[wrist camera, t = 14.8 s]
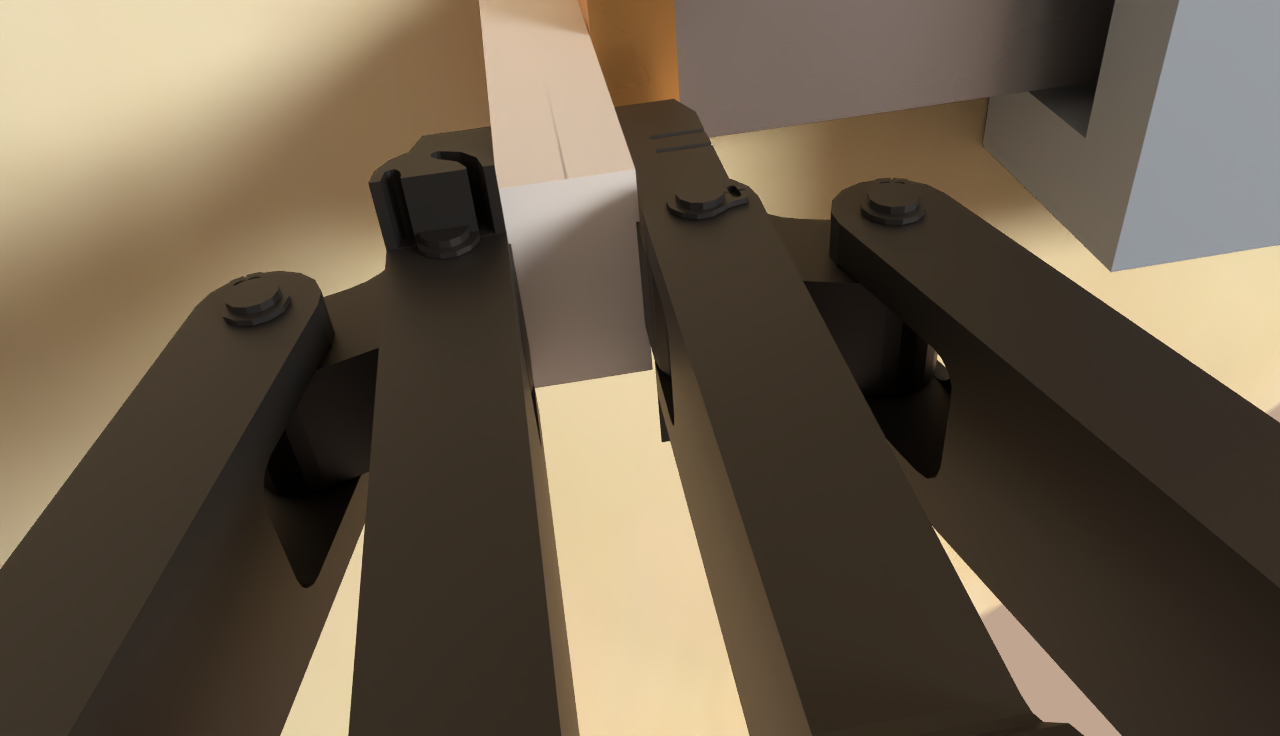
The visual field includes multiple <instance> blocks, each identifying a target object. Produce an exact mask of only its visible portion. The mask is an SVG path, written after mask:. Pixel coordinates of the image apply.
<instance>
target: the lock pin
mask: <svg viewBox="0 0 1280 736" xmlns="http://www.w3.org/2000/svg"><path fill="white" fill-rule="evenodd" d="M577 1H578V3H579V6H580V9H581V12H582V15H583V18H584V21H585V24H586V27H587V30H588V33H589V35H590V38H591V41H592V44H593V47H594V50H595V53H596V56H597V59H598V62H599V65H600V68H601V71H602V73H603V76H604V79H605V82H606V85H607V88H608V91H609V94H610V97H611V100H612V103H613V106H614V107H617V106H624V105H632V104H639V103H646V102H653V101H661V100H668V99H675V100H677V101H678V102H680V103H682V104H684V105H685V106H687V107H689V108H690V109H692V110H694V111H696V113H697V115H698V117H699V119H700V121H701V123H702V125H703V127H704V132H706V133H707V135H708V137H716V136H723V135H730V134H737V133H744V132H751V131H758V130H765V129H772V128H779V127H786V126H792V125H799V124H806V123H813V122H820V121H827V120H834V119H841V118H848V117H855V116H862V115H868V114H875V113H882V112H889V111H896V110H903V109H910V108H917V107H924V106H931V105H938V104H945V103H951V102H958V101H965V100H972V99H979V98H986V97H993V96H1000V95H1007V94H1014V93H1021V92H1027V91H1034V90H1041V89H1048V88H1055V87H1062V86H1069V85H1076V84H1083V83H1090V82H1097V81H1098V78H1099V74H1100V69H1101V64H1102V60H1103V55H1104V50H1105V45H1106V41H1107V36H1108V31H1109V27H1110V22H1111V17H1112V13H1113V8H1114V3H1115V0H577Z"/></svg>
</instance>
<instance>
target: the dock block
mask: <svg viewBox="0 0 1280 736" xmlns="http://www.w3.org/2000/svg"><path fill="white" fill-rule="evenodd" d="M982 146H983V147H984V148H985V149H986V150H987V151H988V152H989V153H990V154H991V155H992V156H993V157H994V158H995V159H996V160H997V161H998V162H999V163H1000V164H1001V165H1002V166H1003V167H1004V168H1005V169H1006V170H1007V171H1008V172H1010V173H1011V174H1012V175H1013V176H1014V177H1015V178H1016V179H1017V180H1018V181H1019V182H1020V183H1021V184H1022V185H1023V186H1024V187H1025V188H1026V189H1027V190H1028V191H1029V192H1030V193H1031V194H1032V195H1033V196H1034V197H1035V198H1036V199H1037V200H1038V201H1039V202H1040V203H1041V204H1042V205H1043V206H1044V207H1045V208H1046V209H1047V210H1048V211H1049V212H1050V213H1051V214H1052V215H1053V216H1054V217H1055V218H1056V219H1057V220H1058V221H1059V222H1060V223H1061V224H1062V225H1063V226H1064V227H1066V228H1067V229H1068V230H1069V231H1070V232H1071V233H1072V234H1073V235H1074V236H1075V237H1076V238H1077V239H1078V240H1079V241H1080V242H1081V243H1082V244H1083V245H1084V246H1085V247H1086V248H1087V249H1088V250H1089V251H1090V252H1091V253H1092V254H1093V255H1094V256H1095V257H1096V258H1097V259H1098V260H1099V261H1100V262H1101V263H1102V264H1103V265H1104V266H1105V267H1106V268H1107V269H1108V270H1109V271H1110V272H1115V271H1121V270H1127V269H1133V268H1139V267H1146V266H1152V265H1158V264H1164V263H1170V262H1176V261H1183V260H1189V259H1195V258H1201V257H1207V256H1213V255H1220V254H1226V253H1232V252H1238V251H1244V250H1250V249H1257V248H1263V247H1269V246H1275V245H1280V0H1115V3H1114V8H1113V13H1112V17H1111V22H1110V27H1109V31H1108V36H1107V41H1106V45H1105V50H1104V55H1103V60H1102V64H1101V69H1100V74H1099V78H1098V81H1097V82H1090V83H1083V84H1076V85H1069V86H1062V87H1055V88H1048V89H1041V90H1034V91H1027V92H1021V93H1014V94H1007V95H1000V96H993V97H989V104H988V111H987V118H986V125H985V132H984V139H983V145H982Z"/></svg>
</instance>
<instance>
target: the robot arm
mask: <svg viewBox="0 0 1280 736" xmlns="http://www.w3.org/2000/svg"><path fill="white" fill-rule="evenodd" d="M479 6H480V17H481V27H482V38H483V48H484V59H485V69H486V80H487V90H488V101H489V111H490V122H491V127H484V128H477V129H470V130H462V131H455V132H448V133H440V134H433V135H426V136H422V137H421V139H420V140H419V141H418V142H417V143H416V144H415V145H414V147H413V148H412V149H411V150H410V151H409V152H408V153H406V154H404V155H401V156H399V157H396V158H394V159H392V160H389V161H388V162H386V163H385V164H384V165H382V166H381V167H380V168H378V169H377V170H376V171H374V173H373V175H372V177H371V179H370V181H369V187H370V191H371V194H372V198H373V202H374V205H375V209H376V213H377V217H378V220H379V224H380V228H381V231H382V235H383V239H384V243H385V246H386V250H387V252H386V265H385V270H384V271H383V272H382V273H380V274H379V275H377V276H375V277H373V278H372V279H370V280H368V281H367V282H365V283H362V284H360V285H357V286H355V287H352V288H350V289H347V290H344V291H341V292H338V293H335V294H332V295H329V296H326V297H323V295H322V292H321V290H320V288H319V286H318V284H317V283H316V281H315V280H314V279H312V278H310V277H308V276H306V275H303V274H301V273H295V272H285V271H275V272H267V273H261V272H259V273H254V274H250V275H247V277H244V276H242V277H240V278H237V279H234V280H232V281H230V282H229V283H228V284H226V285H224V286H222V287H221V288H219V289H217V290H215V291H213V292H211V293H210V294H209V295H208V296H207V297H206V298H205V299H204V300H203V301H201V302H200V303H199V304H198V305H197V306H196V307H195V309H194V310H193V311H192V313H191V314H190V315H189V317H188V318H187V319H186V321H185V322H184V323H183V325H182V326H181V327H180V329H179V330H178V331H177V333H176V334H175V335H174V337H173V338H172V339H171V341H170V342H169V343H168V345H167V346H166V347H165V349H164V350H163V351H162V353H161V354H160V356H159V357H158V358H157V360H156V361H155V362H154V364H153V365H152V366H151V368H150V369H149V370H148V372H147V373H146V374H145V376H144V377H143V378H142V380H141V381H140V382H139V384H138V385H137V386H136V388H135V389H134V390H133V392H132V393H131V394H130V396H129V397H128V399H127V400H126V401H125V403H124V404H123V405H122V407H121V408H120V409H119V411H118V412H117V413H116V415H115V416H114V417H113V419H112V420H111V421H110V423H109V424H108V425H107V427H106V428H105V429H104V431H103V432H102V433H101V435H100V436H99V437H98V439H97V440H96V441H95V443H94V444H93V446H92V447H91V448H90V450H89V451H88V452H87V454H86V455H85V456H84V458H83V459H82V460H81V462H80V463H79V464H78V466H77V467H76V468H75V470H74V471H73V472H72V474H71V475H70V476H69V478H68V479H67V480H66V482H65V483H64V484H63V486H62V487H61V488H60V490H59V491H58V493H57V494H56V495H55V497H54V498H53V499H52V501H51V502H50V503H49V505H48V506H47V507H46V509H45V510H44V511H43V513H42V514H41V515H40V517H39V518H38V519H37V521H36V522H35V523H34V525H33V526H32V527H31V529H30V530H29V531H28V533H27V534H26V536H25V537H24V538H23V540H22V541H21V542H20V544H19V545H18V546H17V548H16V549H15V550H14V552H13V553H12V554H11V556H10V557H9V558H8V560H7V561H6V562H5V564H4V565H3V566H2V568H1V569H0V736H280V735H281V732H282V730H283V727H284V725H285V722H286V720H287V717H288V715H289V712H290V710H291V707H292V705H293V702H294V700H295V697H296V695H297V692H298V690H299V687H300V685H301V682H302V680H303V677H304V674H305V672H306V669H307V667H308V664H309V662H310V659H311V657H312V654H313V652H314V649H315V647H316V644H317V642H318V639H319V637H320V634H321V632H322V629H323V627H324V624H325V622H326V619H327V617H328V614H329V612H330V609H331V607H332V604H333V602H334V599H335V597H336V594H337V592H338V589H339V587H340V584H341V582H342V579H343V577H344V574H345V572H346V569H347V566H348V564H349V561H350V559H351V556H352V554H353V551H354V549H355V546H356V544H357V541H358V539H359V536H360V534H361V531H362V529H363V526H364V524H365V532H364V545H363V557H362V570H361V583H360V596H359V608H358V621H357V634H356V646H355V659H354V672H353V685H352V697H351V710H350V723H349V735H348V736H579V728H578V720H577V712H576V703H575V695H574V687H573V679H572V671H571V663H570V655H569V647H568V639H567V631H566V623H565V615H564V607H563V599H562V591H561V583H560V575H559V567H558V559H557V551H556V543H555V535H554V527H553V519H552V511H551V503H550V495H549V487H548V479H547V471H546V463H545V455H544V447H543V439H542V431H541V423H540V415H539V409H538V404H537V398H536V393H535V388H538V387H545V386H551V385H557V384H564V383H570V382H576V381H583V380H589V379H596V378H602V377H608V376H615V375H621V374H627V373H634V372H640V371H646V370H653V368H652V357H651V348H652V352H653V355H654V359H655V368H656V380H657V391H658V403H659V415H660V427H661V439H662V442H666V441H670V442H671V445H672V449H673V453H674V457H675V460H676V464H677V468H678V471H679V475H680V479H681V483H682V486H683V490H684V494H685V497H686V501H687V505H688V509H689V512H690V516H691V520H692V523H693V527H694V531H695V535H696V538H697V542H698V546H699V549H700V553H701V557H702V561H703V564H704V568H705V572H706V575H707V579H708V583H709V587H710V590H711V594H712V598H713V601H714V605H715V609H716V613H717V616H718V620H719V624H720V627H721V631H722V635H723V639H724V642H725V646H726V650H727V653H728V657H729V661H730V665H731V668H732V672H733V676H734V679H735V683H736V687H737V691H738V694H739V698H740V702H741V705H742V709H743V713H744V717H745V720H746V724H747V728H748V731H749V735H750V736H1084V735H1082V734H1081V733H1080V732H1079V731H1077V730H1076V729H1075V728H1074V727H1073V726H1071V725H1070V724H1069V723H1052V722H1043V721H1042V720H1040V719H1039V718H1038V717H1037V716H1036V715H1035V714H1033V713H1032V711H1031V710H1030V708H1029V707H1028V705H1027V704H1026V702H1025V701H1024V699H1023V697H1022V696H1021V694H1020V692H1019V690H1018V689H1017V687H1016V684H1015V683H1014V681H1013V679H1012V677H1011V675H1010V673H1009V671H1008V669H1007V667H1006V666H1005V664H1004V662H1003V660H1002V658H1001V656H1000V654H999V652H998V650H997V649H996V647H995V645H994V643H993V641H992V639H991V637H990V635H989V633H988V631H987V629H986V628H985V626H984V624H983V622H982V620H981V618H980V616H979V614H978V612H977V610H976V609H975V607H974V605H973V603H972V601H971V599H970V597H969V595H968V593H967V591H966V590H965V588H964V586H963V584H962V582H961V580H960V578H959V576H958V574H957V572H956V571H955V569H954V567H953V565H952V563H951V561H950V559H949V557H948V555H947V554H946V552H945V550H944V548H943V546H942V544H941V542H940V540H939V538H938V536H937V535H936V533H935V531H934V529H933V527H934V528H935V529H936V531H937V532H938V533H939V534H940V535H941V536H942V537H943V538H944V539H945V540H946V542H947V543H948V544H949V545H950V546H951V547H952V548H953V549H954V550H955V552H956V553H957V554H958V555H959V556H960V557H961V558H962V559H963V560H964V562H965V563H966V564H967V565H968V566H969V567H970V568H971V569H972V570H973V571H974V573H975V574H976V575H977V576H978V577H979V578H980V579H981V580H982V581H983V583H984V584H985V585H986V586H987V587H988V588H989V589H990V590H991V591H992V592H993V594H994V595H995V596H996V597H997V598H998V599H999V600H1000V601H1001V602H1002V604H1003V605H1004V606H1005V607H1006V608H1007V609H1008V610H1009V611H1010V612H1011V613H1012V615H1013V616H1014V617H1015V618H1016V619H1017V620H1018V621H1019V622H1020V623H1021V625H1022V626H1023V627H1024V628H1025V629H1026V630H1027V631H1028V632H1029V633H1030V634H1031V636H1032V637H1033V638H1034V639H1035V640H1036V641H1037V642H1038V643H1039V644H1040V646H1041V647H1042V648H1043V649H1044V650H1045V651H1046V652H1047V653H1048V654H1049V655H1050V657H1051V658H1052V659H1053V660H1054V661H1055V662H1056V663H1057V664H1058V665H1059V667H1060V668H1061V669H1062V670H1063V671H1064V672H1065V673H1066V674H1067V675H1068V677H1069V678H1070V679H1071V680H1072V681H1073V682H1074V683H1075V684H1076V685H1077V687H1078V688H1079V689H1080V690H1081V691H1082V692H1083V693H1084V694H1085V695H1086V696H1087V698H1088V699H1089V700H1090V701H1091V702H1092V703H1093V704H1094V705H1095V706H1096V708H1097V709H1098V710H1099V711H1100V712H1101V713H1102V714H1103V715H1104V716H1105V717H1106V719H1107V720H1108V721H1109V722H1110V723H1111V724H1112V725H1113V726H1114V727H1115V729H1116V730H1117V731H1118V732H1119V733H1120V734H1121V735H1122V736H1280V423H1279V422H1278V421H1276V420H1275V419H1273V418H1272V417H1271V416H1269V415H1268V414H1266V413H1265V412H1263V411H1262V410H1260V409H1259V408H1257V407H1256V406H1254V405H1253V404H1252V403H1250V402H1249V401H1247V400H1246V399H1244V398H1243V397H1241V396H1240V395H1238V394H1237V393H1235V392H1234V391H1233V390H1231V389H1230V388H1228V387H1227V386H1225V385H1224V384H1222V383H1221V382H1219V381H1218V380H1217V379H1215V378H1214V377H1212V376H1211V375H1209V374H1208V373H1206V372H1205V371H1203V370H1202V369H1200V368H1199V367H1198V366H1196V365H1195V364H1193V363H1192V362H1190V361H1189V360H1187V359H1186V358H1184V357H1183V356H1181V355H1180V354H1179V353H1177V352H1176V351H1174V350H1173V349H1171V348H1170V347H1168V346H1167V345H1165V344H1164V343H1163V342H1161V341H1160V340H1158V339H1157V338H1155V337H1154V336H1152V335H1151V334H1149V333H1148V332H1146V331H1145V330H1144V329H1142V328H1141V327H1139V326H1138V325H1136V324H1135V323H1133V322H1132V321H1130V320H1129V319H1127V318H1126V317H1125V316H1123V315H1122V314H1120V313H1119V312H1117V311H1116V310H1114V309H1113V308H1111V307H1110V306H1108V305H1107V304H1106V303H1104V302H1103V301H1101V300H1100V299H1098V298H1097V297H1095V296H1094V295H1092V294H1091V293H1090V292H1088V291H1087V290H1085V289H1084V288H1082V287H1081V286H1079V285H1078V284H1076V283H1075V282H1073V281H1072V280H1071V279H1069V278H1068V277H1066V276H1065V275H1063V274H1062V273H1060V272H1059V271H1057V270H1056V269H1054V268H1053V267H1052V266H1050V265H1049V264H1047V263H1046V262H1044V261H1043V260H1041V259H1040V258H1038V257H1037V256H1035V255H1034V254H1033V253H1031V252H1030V251H1028V250H1027V249H1025V248H1024V247H1022V246H1021V245H1019V244H1018V243H1017V242H1015V241H1014V240H1012V239H1011V238H1009V237H1008V236H1006V235H1005V234H1003V233H1002V232H1000V231H999V230H998V229H996V228H995V227H993V226H992V225H990V224H989V223H987V222H986V221H984V220H983V219H981V218H980V217H979V216H977V215H976V214H974V213H973V212H971V211H970V210H968V209H967V208H965V207H964V206H962V205H961V204H960V203H958V202H957V201H955V200H954V199H952V198H951V197H949V196H948V195H946V194H945V193H943V192H941V191H939V190H937V189H935V188H933V187H931V186H928V185H926V184H921V183H917V182H912V181H909V180H907V179H899V178H893V180H890V178H882V179H876V180H875V181H869V182H863V183H858V184H856V185H854V186H851V187H849V188H847V189H844V190H842V191H841V192H840V193H839V194H838V195H837V196H836V197H835V198H834V199H833V200H832V209H831V220H814V219H794V218H783V217H778V216H774V215H770V214H767V212H766V210H765V208H764V206H763V204H762V202H761V201H760V199H759V197H758V195H757V194H756V193H755V192H754V191H753V190H752V189H751V188H750V187H749V186H747V185H744V184H742V183H739V182H737V181H735V180H732V179H729V178H728V176H727V174H726V172H725V170H724V168H723V166H722V164H721V162H720V160H719V158H718V156H717V154H716V151H715V149H714V147H713V145H711V141H710V139H709V137H708V135H707V133H706V132H704V127H703V125H702V123H701V121H700V119H699V117H698V115H697V113H696V111H694V110H692V109H690V108H689V107H687V106H685V105H684V104H682V103H680V102H678V101H677V100H675V99H668V100H661V101H653V102H646V103H639V104H632V105H624V106H617V107H614V106H613V103H612V100H611V97H610V94H609V91H608V88H607V85H606V82H605V79H604V76H603V73H602V71H601V68H600V65H599V62H598V59H597V56H596V53H595V50H594V47H593V44H592V41H591V38H590V35H589V33H588V30H587V27H586V24H585V21H584V18H583V15H582V12H581V9H580V6H579V3H578V1H577V0H479ZM937 354H939V356H940V357H941V358H942V360H943V362H944V364H945V366H946V367H944V366H943V365H942V364H941V363H940V362H939V361H938V360H937ZM932 526H933V527H932Z"/></svg>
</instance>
